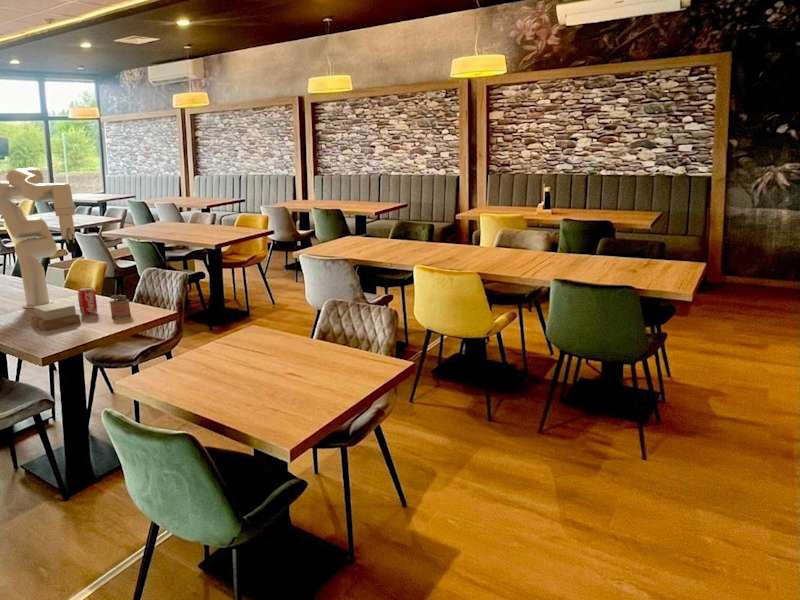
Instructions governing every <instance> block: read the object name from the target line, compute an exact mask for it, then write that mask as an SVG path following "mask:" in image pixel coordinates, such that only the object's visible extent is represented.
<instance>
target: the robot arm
mask: <svg viewBox="0 0 800 600" xmlns="http://www.w3.org/2000/svg"><path fill="white" fill-rule="evenodd" d="M5 177H6V181H5V180H3V181H0V214H1V215H2V218H3V220H4V222H5V224H6V226H7V229H8V231H9V233H10V235H11V236H12V237H13V238H14V239H16V240H20V241H18V242H17V243H16V244H15V246H14V251H15V255H16V257H17V258H16V259H17V260H18V263H19V268H20V273H21V278H22V284H23V291H24V296H25V302H24V303H23V304H22V307H23V308H24V309H34V308H33V307H36V306H41V305H46V304H51V303H54V300H52V299H50V298H49V292H48V286H47V279H46V278H47V277H46V272H45V267H44V265H43V264H42V263H41V262H39V259H45V258H50V257H53V256H55V255H56V254H57V252H58V248H57V243H56V241H55V239H54V237H53V234H52V232H51V230H50V229H49V226H48V224H47V222H46V220H44V219H43V218H41V217H37V216H34V217H32V216H31V217H27V216H26V215H25V214H24V211H23V209H22V207H20V206H19V205H17V203H15V202H13V201H11V200H18V199H19V200H21V199H28V200H29V201H33V202H37V203H40V202H41V203H42V202H53V203H52V204H53V207H54V213H55V217H58V224H59V229H60V235H61V238H62V240H65V246H66V247H65V248H66V251H67V252H68V253H69V254H70V253H76V252H77V246H76V242H75V238H76V234H75V232H76V231H75V225H74V218H73V216H75V215H76V212H75V207H74V200H73V194H72V189H71V185H70V184H69V183H66V182H62V183H60V182H52V183H48V182H47V183H44V175H43V173H42V172H41V171H40V170H39V169H38V168H36V167H27V168H26V167H25V168H24V167H23V168H13V169H10V170H9V171H8V172H7V174H6V176H5Z"/></svg>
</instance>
